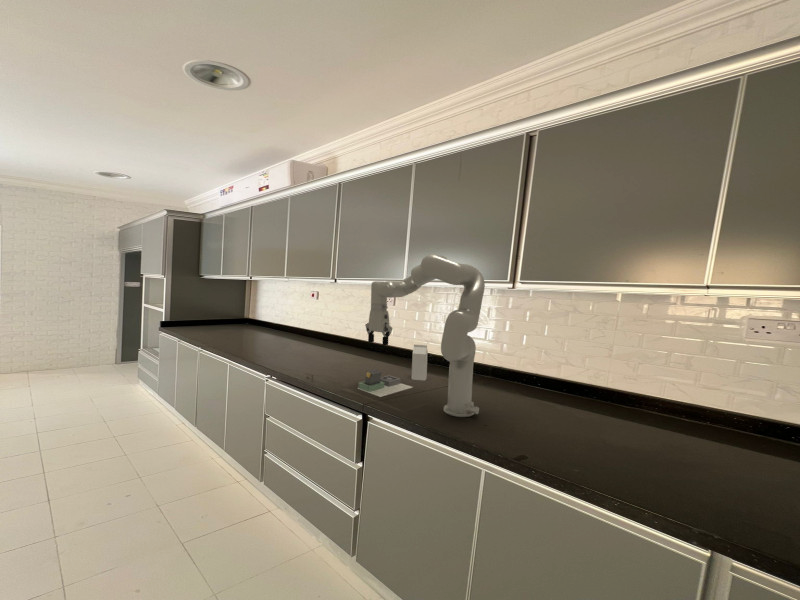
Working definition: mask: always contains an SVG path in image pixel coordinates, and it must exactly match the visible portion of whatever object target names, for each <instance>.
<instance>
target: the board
mask: <svg viewBox="0 0 800 600" xmlns="http://www.w3.org/2000/svg"><path fill="white" fill-rule="evenodd" d="M380 381H381V382H384V388H382V389H378V390H375V391H371V392H368V391H365V390H362V389H360V388H359V387H357V389H358V390H360V391H363V392H365V393H368V394H371V395H373V396H377V397H379V398H382V397H384V396H389V395H392V394H396V393H400V392H402V391H406V390H409V389H412V388H413V386H411V385H408V384H404V383H401V381H402V380H401V378H399V377H397V376H393V375H390V374H389V375H385V376H381V379H380Z"/></svg>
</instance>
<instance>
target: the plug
mask: <svg viewBox="0 0 800 600" xmlns="http://www.w3.org/2000/svg"><path fill="white" fill-rule="evenodd" d="M365 372H366V373H365V380H364V381H365V384H367V385H373V384H377V383H380V379H381V377H382V371H380V370H378V368H374V369H371V370H370V369H369V370H366V371H365Z"/></svg>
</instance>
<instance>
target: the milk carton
mask: <svg viewBox="0 0 800 600" xmlns="http://www.w3.org/2000/svg"><path fill="white" fill-rule="evenodd" d="M428 351H429V350H428V345H425V344H424V345H423V344H413V349H412V357H411V358H412V359H411V361H412V362H411V380H415V381H423V382H424V381H427V377H428V376H427V373H428V372H427V371H428Z"/></svg>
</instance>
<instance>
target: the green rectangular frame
mask: <svg viewBox="0 0 800 600" xmlns="http://www.w3.org/2000/svg"><path fill="white" fill-rule="evenodd" d="M358 388H360V389H362V390H361V391H363V390H365V391H368V392H371V391H375V390H378V389H382V388H384V382H381V381H380V383H377V384H373V385H367V384H365V380H364V381H360V382H358ZM360 389H359V390H360ZM365 391H364V392H365ZM368 392H367V393H368Z"/></svg>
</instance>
